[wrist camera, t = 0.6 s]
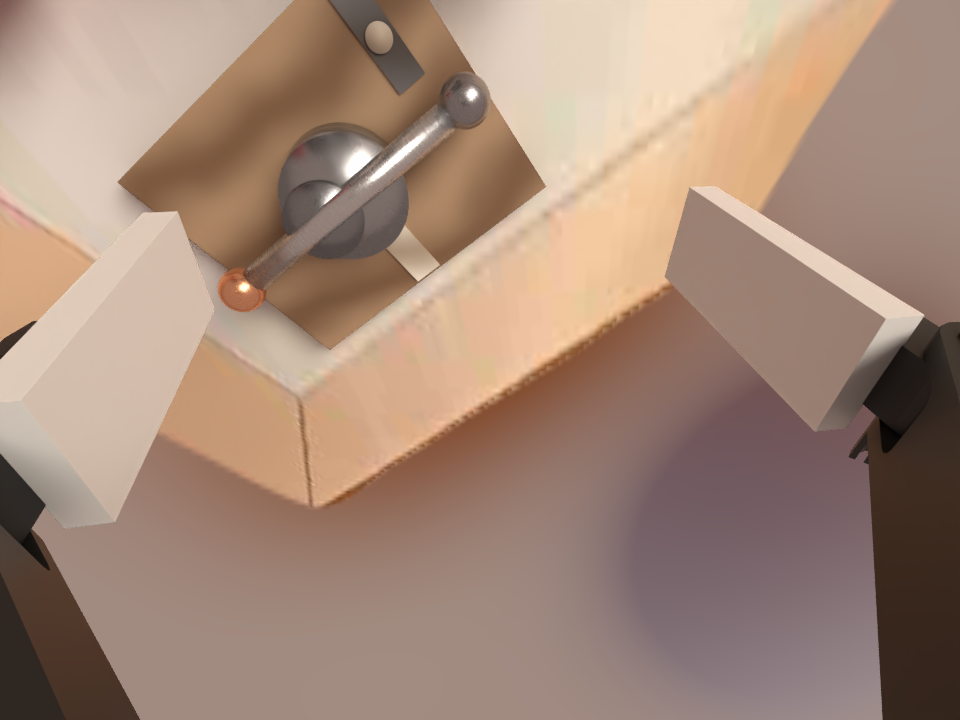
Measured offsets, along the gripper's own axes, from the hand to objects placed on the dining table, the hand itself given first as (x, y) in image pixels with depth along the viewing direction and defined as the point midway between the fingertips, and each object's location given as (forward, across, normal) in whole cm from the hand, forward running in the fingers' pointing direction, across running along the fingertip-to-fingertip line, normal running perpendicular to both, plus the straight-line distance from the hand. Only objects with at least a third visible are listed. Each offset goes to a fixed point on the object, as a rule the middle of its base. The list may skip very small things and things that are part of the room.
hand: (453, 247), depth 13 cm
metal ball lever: (+23, -4, -6) cm, 24 cm away
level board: (+25, -4, -6) cm, 26 cm away
